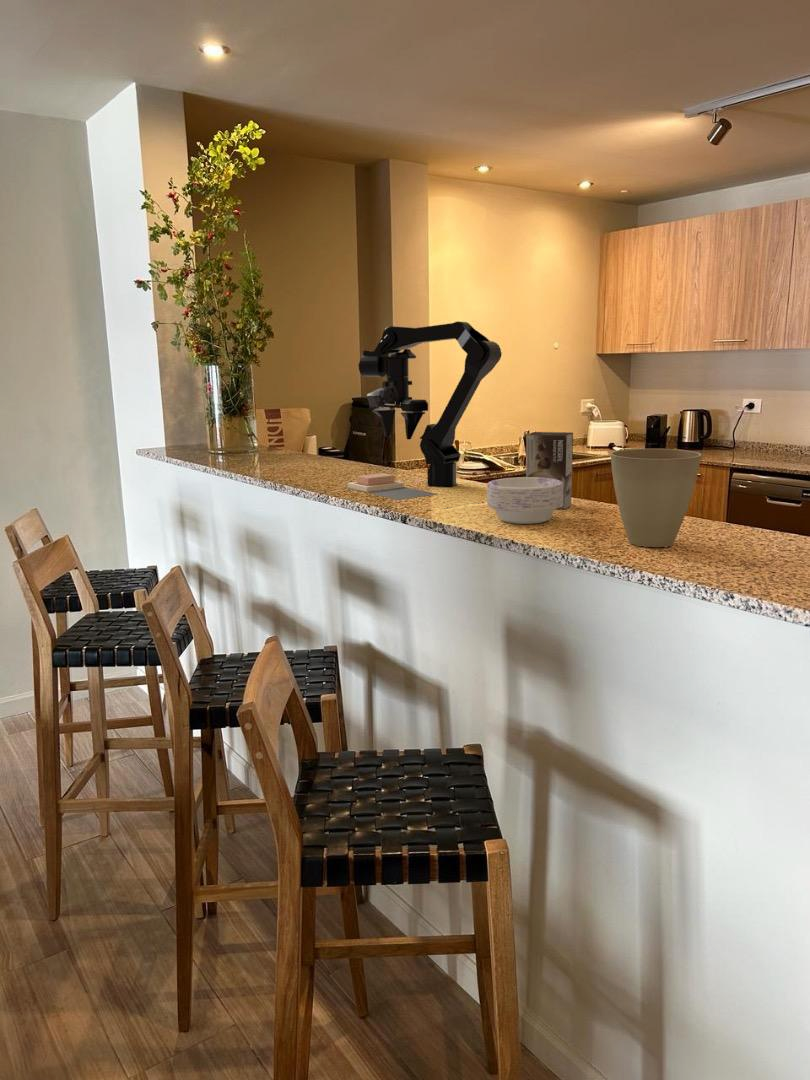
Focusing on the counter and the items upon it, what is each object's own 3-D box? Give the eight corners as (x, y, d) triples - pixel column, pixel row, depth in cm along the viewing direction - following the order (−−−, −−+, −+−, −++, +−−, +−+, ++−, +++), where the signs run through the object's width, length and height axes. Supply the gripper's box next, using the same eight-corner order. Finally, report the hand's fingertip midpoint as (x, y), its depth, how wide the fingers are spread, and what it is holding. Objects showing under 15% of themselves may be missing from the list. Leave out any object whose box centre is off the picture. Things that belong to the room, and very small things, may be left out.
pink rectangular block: (368, 490, 192) (367, 478, 191) (357, 487, 196) (357, 476, 195) (394, 487, 196) (394, 475, 196) (383, 484, 200) (383, 473, 200)
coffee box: (572, 504, 174) (574, 432, 170) (565, 509, 168) (567, 434, 164) (532, 502, 177) (534, 430, 174) (524, 506, 172) (526, 433, 168)
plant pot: (631, 530, 147) (636, 446, 143) (709, 542, 137) (716, 452, 133) (590, 544, 137) (594, 453, 133) (670, 558, 126) (677, 460, 123)
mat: (439, 496, 186) (439, 489, 185) (398, 502, 179) (398, 494, 178) (382, 484, 204) (381, 477, 204) (343, 489, 197) (342, 482, 197)
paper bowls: (473, 516, 162) (474, 478, 160) (537, 510, 168) (538, 474, 166) (509, 530, 148) (510, 489, 146) (577, 523, 154) (579, 484, 152)
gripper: (351, 377, 202) (352, 437, 206) (393, 378, 188) (394, 442, 191) (386, 376, 209) (387, 434, 212) (429, 377, 194) (429, 439, 198)
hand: (398, 437), depth 203 cm, fingers open, 9 cm apart
